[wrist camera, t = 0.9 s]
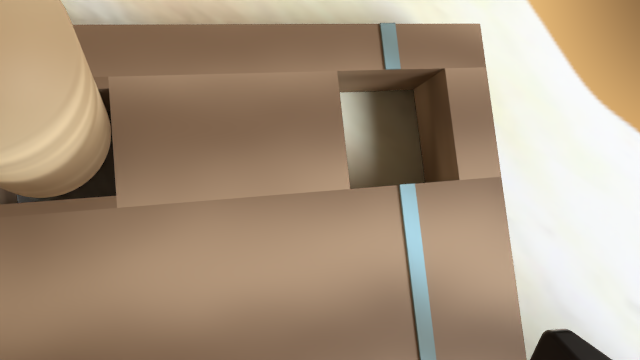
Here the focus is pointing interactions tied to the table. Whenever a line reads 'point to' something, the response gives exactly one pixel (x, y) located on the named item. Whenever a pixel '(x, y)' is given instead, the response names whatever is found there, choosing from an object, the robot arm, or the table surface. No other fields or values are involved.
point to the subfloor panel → (270, 206)
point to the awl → (47, 103)
